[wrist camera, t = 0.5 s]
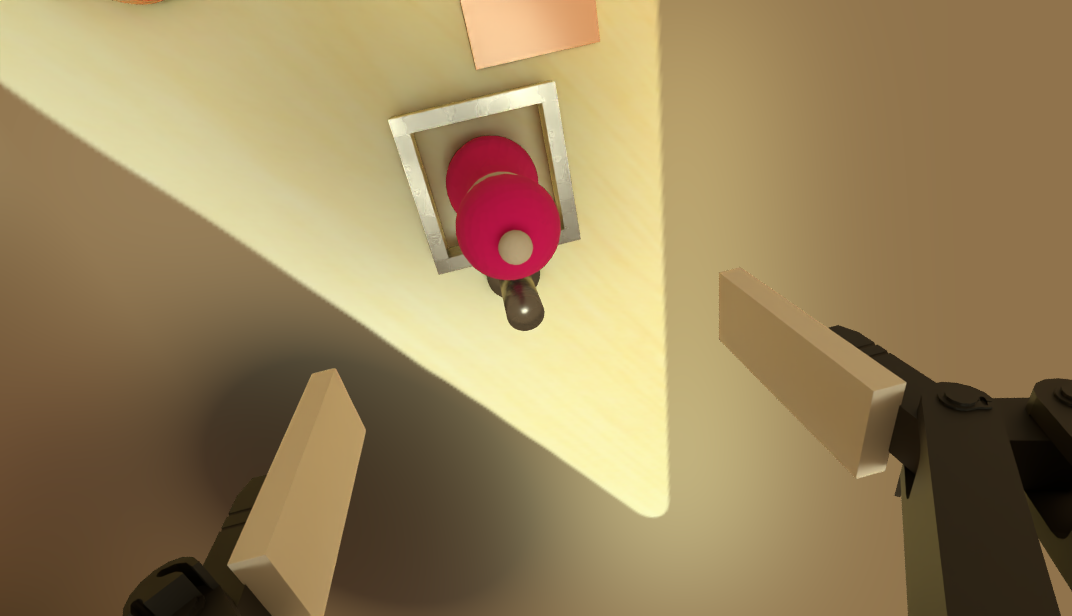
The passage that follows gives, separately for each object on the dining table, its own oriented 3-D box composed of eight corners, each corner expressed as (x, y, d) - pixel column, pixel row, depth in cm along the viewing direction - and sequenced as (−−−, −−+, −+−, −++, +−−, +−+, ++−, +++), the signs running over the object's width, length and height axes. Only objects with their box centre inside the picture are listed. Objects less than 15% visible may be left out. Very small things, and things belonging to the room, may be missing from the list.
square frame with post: (394, 114, 38) (379, 127, 30) (544, 79, 38) (568, 83, 30) (457, 309, 46) (458, 359, 38) (578, 278, 47) (604, 321, 39)
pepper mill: (530, 129, 40) (593, 178, 22) (529, 213, 43) (584, 313, 26) (443, 129, 39) (437, 180, 21) (449, 215, 42) (448, 322, 24)
